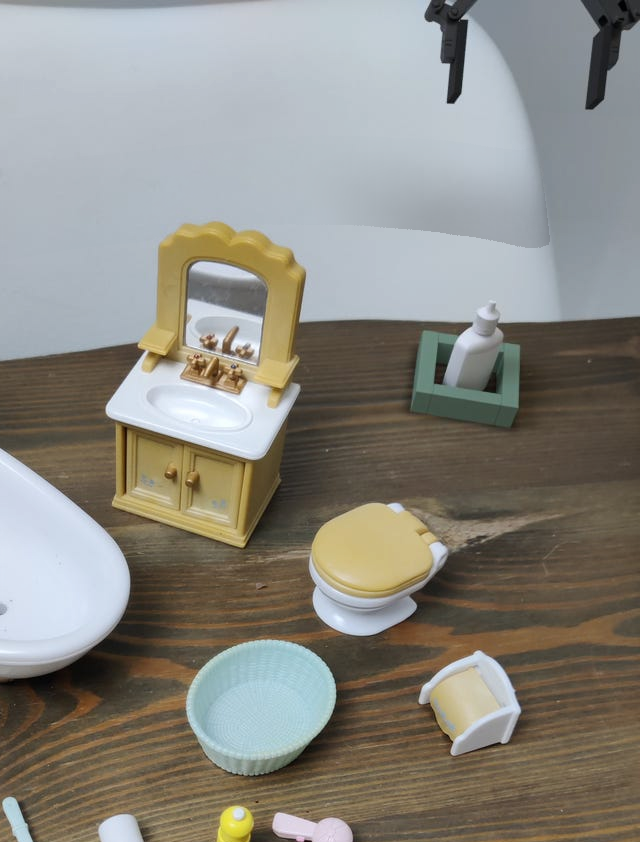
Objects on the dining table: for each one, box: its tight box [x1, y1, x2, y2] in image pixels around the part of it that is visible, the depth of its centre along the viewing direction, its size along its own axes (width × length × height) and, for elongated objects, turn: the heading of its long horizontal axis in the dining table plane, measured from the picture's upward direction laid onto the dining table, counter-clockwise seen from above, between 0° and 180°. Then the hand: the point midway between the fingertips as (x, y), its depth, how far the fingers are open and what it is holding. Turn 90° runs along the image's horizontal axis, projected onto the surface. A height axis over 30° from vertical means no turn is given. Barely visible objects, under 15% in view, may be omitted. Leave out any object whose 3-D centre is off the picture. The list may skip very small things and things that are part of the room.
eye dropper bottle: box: [441, 299, 504, 392], centre depth 107 cm, size 4×6×12 cm
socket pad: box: [409, 329, 521, 429], centre depth 111 cm, size 11×11×4 cm
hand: (524, 102), depth 95 cm, fingers open, 13 cm apart
